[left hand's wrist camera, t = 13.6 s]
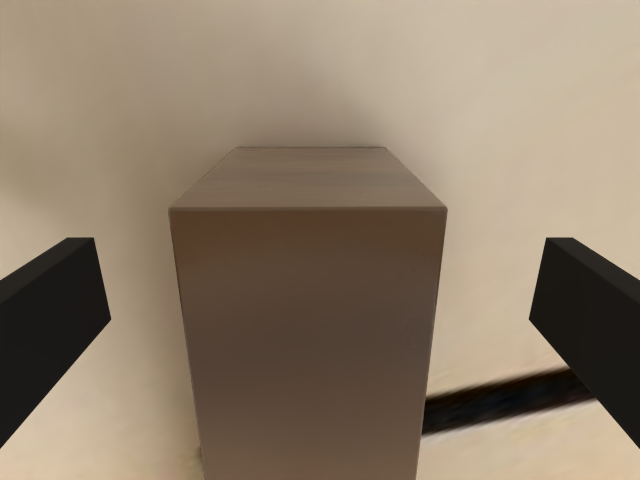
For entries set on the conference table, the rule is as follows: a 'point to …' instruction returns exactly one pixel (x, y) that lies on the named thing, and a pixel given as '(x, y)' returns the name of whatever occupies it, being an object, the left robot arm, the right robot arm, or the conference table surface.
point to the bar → (309, 311)
